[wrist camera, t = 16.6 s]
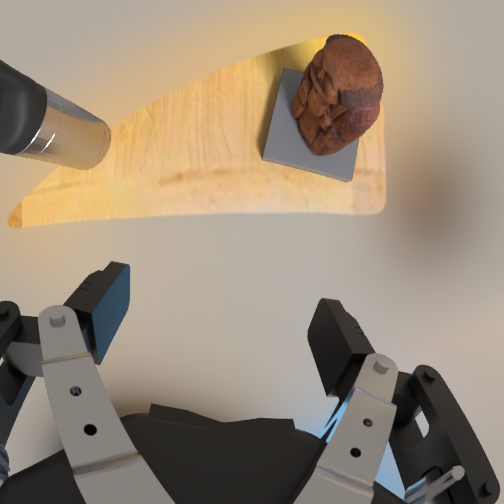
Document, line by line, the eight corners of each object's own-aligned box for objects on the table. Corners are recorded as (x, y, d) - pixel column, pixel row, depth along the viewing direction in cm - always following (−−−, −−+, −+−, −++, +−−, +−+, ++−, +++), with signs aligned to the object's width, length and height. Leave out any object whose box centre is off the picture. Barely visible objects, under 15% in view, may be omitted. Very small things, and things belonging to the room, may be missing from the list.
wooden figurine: (280, 91, 35) (298, 16, 17) (320, 83, 35) (358, 12, 17) (309, 164, 37) (353, 125, 19) (349, 153, 36) (414, 114, 19)
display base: (262, 160, 39) (262, 156, 37) (282, 75, 37) (283, 67, 35) (346, 182, 39) (351, 180, 37) (359, 97, 38) (365, 92, 35)
